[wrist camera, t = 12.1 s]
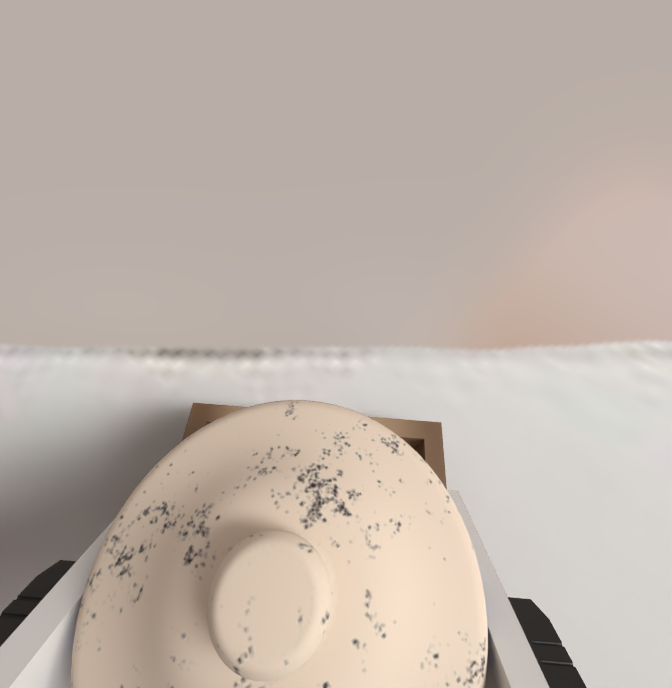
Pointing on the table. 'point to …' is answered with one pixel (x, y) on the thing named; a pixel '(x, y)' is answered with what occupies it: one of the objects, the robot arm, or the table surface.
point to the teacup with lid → (285, 564)
